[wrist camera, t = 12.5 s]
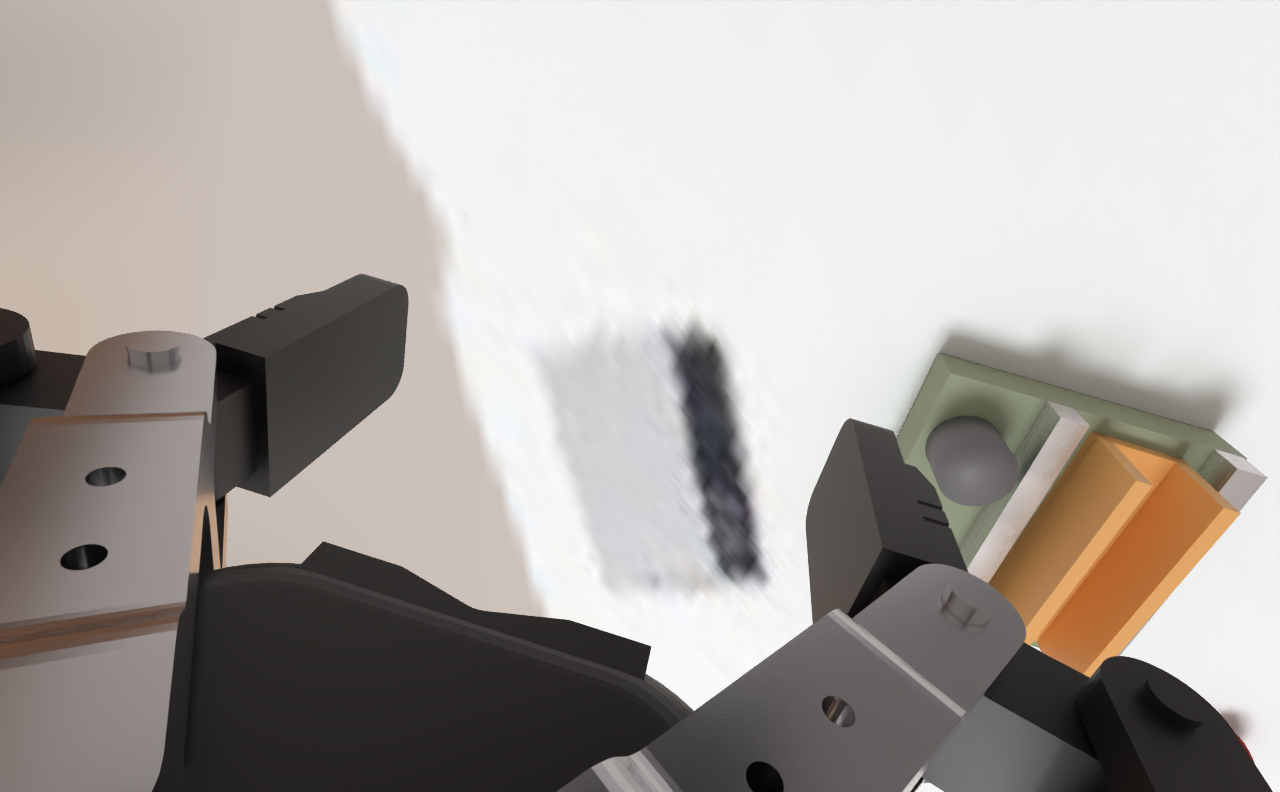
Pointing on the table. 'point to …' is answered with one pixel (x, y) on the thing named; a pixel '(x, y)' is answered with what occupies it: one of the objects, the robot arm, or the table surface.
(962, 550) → the chute cradle
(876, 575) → the robot arm
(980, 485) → the marble run board
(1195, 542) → the discharge chute
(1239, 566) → the table surface
